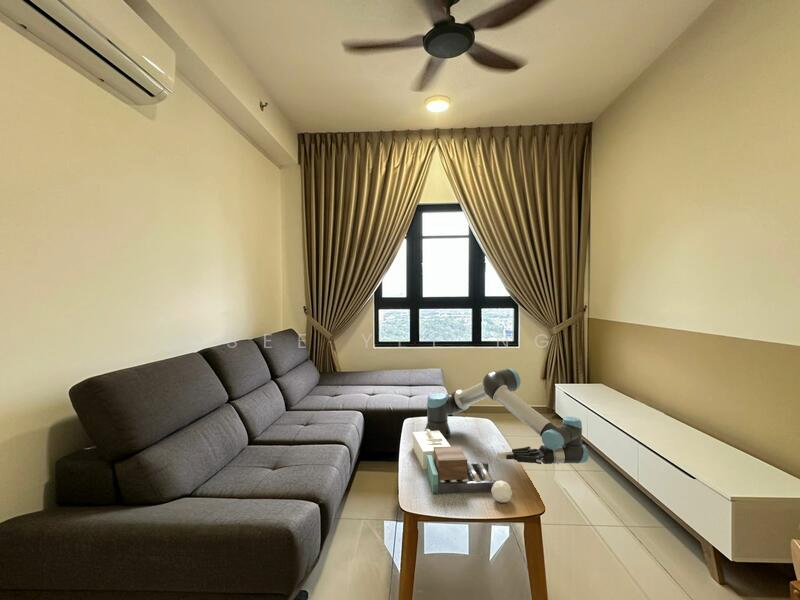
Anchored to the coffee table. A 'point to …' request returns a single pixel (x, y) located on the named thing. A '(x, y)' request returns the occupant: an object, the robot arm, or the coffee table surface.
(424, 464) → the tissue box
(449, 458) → the brown wooden block
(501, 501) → the geometric ball
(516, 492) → the coffee table surface
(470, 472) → the roller track
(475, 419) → the coffee table surface
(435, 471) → the teal stop bar
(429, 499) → the coffee table surface
